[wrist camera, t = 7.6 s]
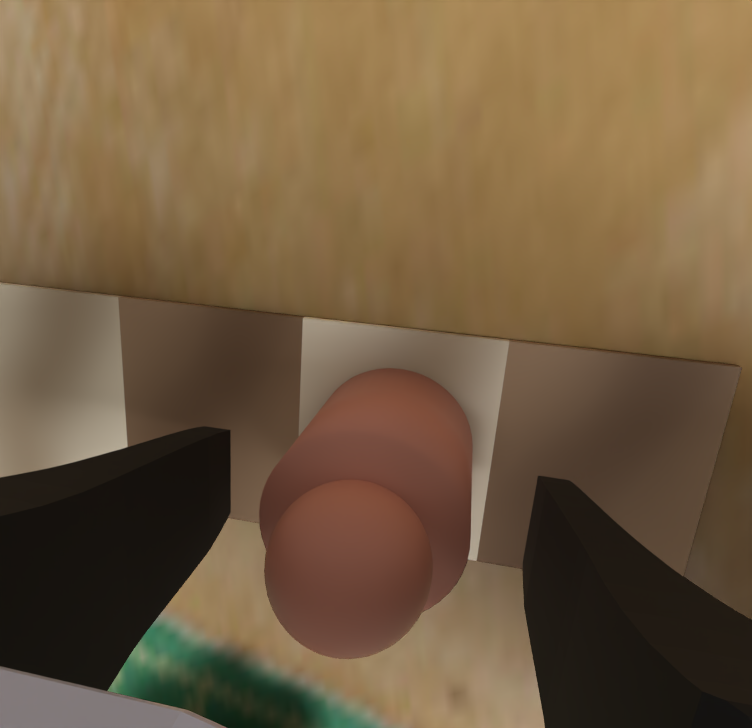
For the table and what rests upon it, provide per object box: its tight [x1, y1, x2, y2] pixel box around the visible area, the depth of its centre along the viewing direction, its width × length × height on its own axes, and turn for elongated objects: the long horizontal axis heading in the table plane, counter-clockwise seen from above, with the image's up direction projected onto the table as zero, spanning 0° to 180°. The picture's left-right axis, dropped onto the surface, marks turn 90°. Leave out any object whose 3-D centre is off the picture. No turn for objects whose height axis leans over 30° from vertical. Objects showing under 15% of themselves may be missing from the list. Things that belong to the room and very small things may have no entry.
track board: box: [0, 282, 742, 576], centre depth 14 cm, size 20×6×1 cm, turn 86°
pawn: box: [259, 368, 473, 659], centre depth 11 cm, size 4×4×6 cm
